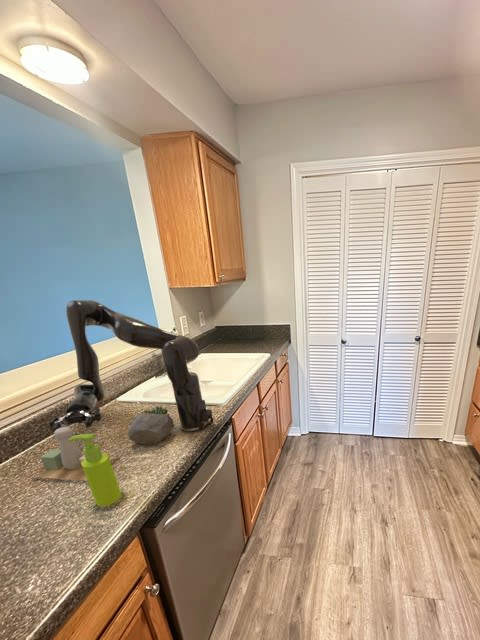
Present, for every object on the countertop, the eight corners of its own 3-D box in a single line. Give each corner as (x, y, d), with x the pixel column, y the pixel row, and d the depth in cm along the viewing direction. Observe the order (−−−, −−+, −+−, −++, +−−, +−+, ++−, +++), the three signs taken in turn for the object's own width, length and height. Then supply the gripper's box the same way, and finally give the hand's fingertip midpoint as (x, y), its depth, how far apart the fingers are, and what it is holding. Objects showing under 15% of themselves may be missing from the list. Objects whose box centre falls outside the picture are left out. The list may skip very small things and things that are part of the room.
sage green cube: (70, 461, 102) (65, 449, 100) (58, 470, 98) (53, 457, 96) (57, 461, 103) (52, 448, 101) (45, 469, 98) (40, 457, 97)
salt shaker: (75, 472, 96) (61, 434, 91) (60, 470, 97) (44, 433, 92) (91, 461, 101) (78, 424, 96) (76, 459, 103) (62, 423, 97)
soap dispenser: (99, 495, 88) (75, 430, 79) (125, 493, 88) (104, 428, 80) (88, 510, 82) (61, 443, 74) (116, 508, 83) (92, 440, 75)
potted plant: (120, 441, 107) (136, 411, 119) (157, 456, 113) (169, 426, 124) (134, 420, 101) (149, 391, 113) (172, 437, 107) (183, 407, 118)
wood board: (116, 459, 104) (115, 456, 103) (89, 482, 93) (88, 479, 93) (67, 456, 106) (66, 454, 106) (35, 479, 96) (33, 477, 95)
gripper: (54, 403, 112) (40, 422, 98) (101, 395, 116) (93, 412, 103) (62, 422, 115) (49, 443, 101) (107, 413, 119) (100, 433, 106)
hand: (71, 428), depth 102 cm, fingers open, 8 cm apart
